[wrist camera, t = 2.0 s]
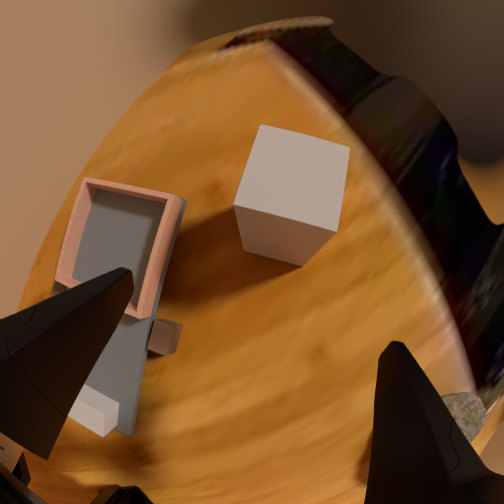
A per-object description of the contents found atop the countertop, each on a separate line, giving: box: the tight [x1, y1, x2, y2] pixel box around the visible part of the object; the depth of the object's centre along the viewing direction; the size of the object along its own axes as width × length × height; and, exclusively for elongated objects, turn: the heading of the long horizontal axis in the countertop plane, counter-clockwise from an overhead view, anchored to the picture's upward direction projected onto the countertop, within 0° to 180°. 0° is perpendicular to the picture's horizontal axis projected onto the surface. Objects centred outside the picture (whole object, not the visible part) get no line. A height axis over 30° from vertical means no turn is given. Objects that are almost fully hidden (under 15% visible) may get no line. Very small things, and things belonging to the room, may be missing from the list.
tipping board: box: [55, 177, 187, 437], centre depth 18 cm, size 21×9×4 cm, turn 165°
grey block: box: [233, 124, 350, 267], centre depth 18 cm, size 5×5×10 cm
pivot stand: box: [51, 280, 183, 356], centre depth 20 cm, size 2×13×2 cm, turn 75°
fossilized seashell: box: [441, 392, 486, 443], centre depth 16 cm, size 11×10×7 cm
